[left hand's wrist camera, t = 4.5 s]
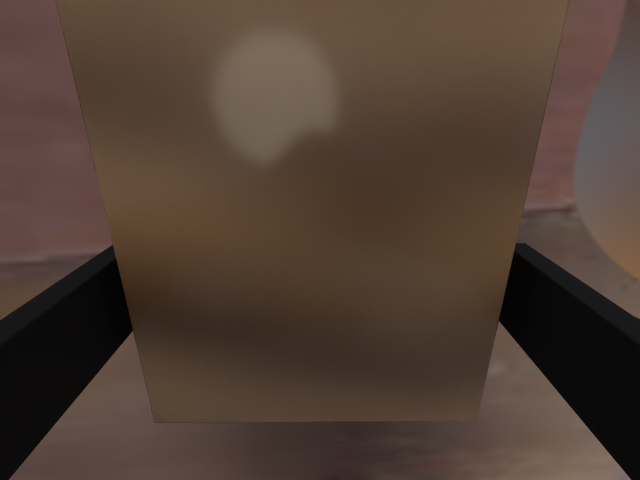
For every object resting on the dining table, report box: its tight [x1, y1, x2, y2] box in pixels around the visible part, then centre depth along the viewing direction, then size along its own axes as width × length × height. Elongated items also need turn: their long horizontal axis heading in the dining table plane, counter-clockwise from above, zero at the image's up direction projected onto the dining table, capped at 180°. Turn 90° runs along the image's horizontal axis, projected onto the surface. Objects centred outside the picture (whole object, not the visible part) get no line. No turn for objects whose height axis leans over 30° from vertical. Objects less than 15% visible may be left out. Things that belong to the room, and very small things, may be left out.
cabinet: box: [56, 0, 570, 423], centre depth 13 cm, size 20×11×10 cm, turn 0°
